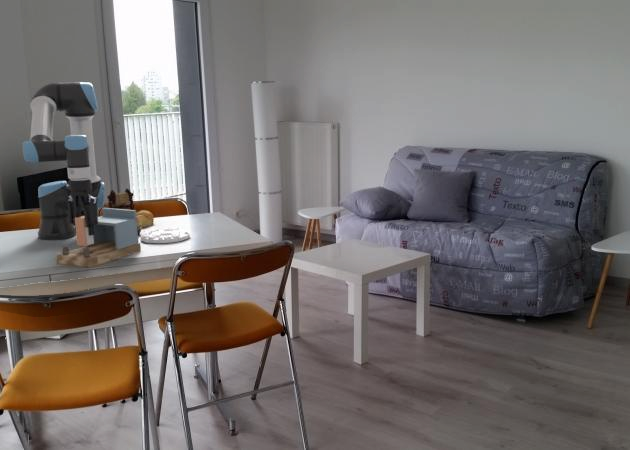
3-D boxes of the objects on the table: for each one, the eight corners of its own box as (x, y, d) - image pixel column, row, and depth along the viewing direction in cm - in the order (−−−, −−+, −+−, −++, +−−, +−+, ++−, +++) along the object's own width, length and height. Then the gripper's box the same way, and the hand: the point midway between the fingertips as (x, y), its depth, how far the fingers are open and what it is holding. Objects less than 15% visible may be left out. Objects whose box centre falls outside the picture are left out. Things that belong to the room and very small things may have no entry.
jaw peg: (85, 242, 230) (83, 215, 228) (93, 243, 229) (91, 216, 227) (77, 245, 227) (74, 217, 225) (85, 245, 225) (83, 218, 223)
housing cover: (85, 245, 238) (82, 212, 236) (106, 239, 248) (104, 207, 246) (117, 249, 232) (115, 215, 229) (138, 243, 241) (135, 210, 239)
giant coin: (177, 246, 252) (177, 238, 251) (132, 244, 256) (131, 237, 255) (196, 234, 271) (196, 228, 271) (154, 233, 275) (153, 226, 274)
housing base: (56, 262, 227) (55, 246, 226) (109, 247, 250) (108, 232, 248) (90, 267, 220) (88, 250, 219) (140, 250, 243) (139, 235, 242)
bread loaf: (147, 236, 285) (154, 220, 284) (125, 227, 282) (133, 211, 281) (152, 226, 305) (159, 211, 304) (132, 217, 303) (139, 202, 302)
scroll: (132, 230, 281) (128, 185, 277) (147, 235, 270) (144, 189, 266) (99, 235, 271) (95, 189, 267) (114, 241, 260) (110, 193, 256)
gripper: (53, 179, 223) (60, 243, 228) (89, 181, 216) (95, 247, 221) (70, 177, 230) (76, 239, 235) (105, 178, 223) (111, 243, 227)
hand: (85, 243), depth 228 cm, fingers closed on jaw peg, 4 cm apart
